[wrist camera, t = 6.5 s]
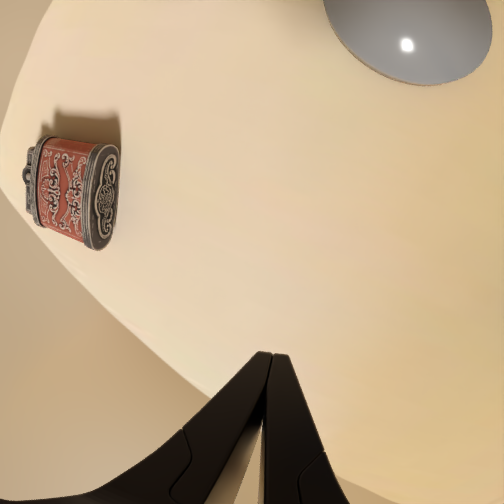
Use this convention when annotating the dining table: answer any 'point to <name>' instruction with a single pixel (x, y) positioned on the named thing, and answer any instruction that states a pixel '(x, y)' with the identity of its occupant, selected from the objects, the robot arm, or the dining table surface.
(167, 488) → the robot arm
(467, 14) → the grey smooth stone
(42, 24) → the dining table surface
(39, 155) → the lighter
